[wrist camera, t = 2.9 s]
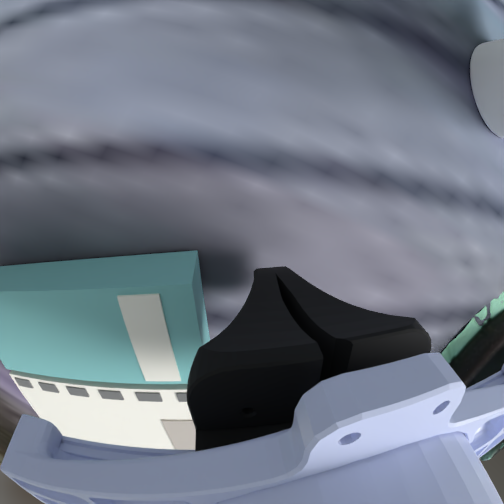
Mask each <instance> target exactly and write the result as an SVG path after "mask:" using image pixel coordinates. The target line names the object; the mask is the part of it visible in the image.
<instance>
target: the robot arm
mask: <svg viewBox="0 0 504 504" xmlns="http://www.w3.org/2000/svg"><path fill="white" fill-rule="evenodd" d="M430 350H431V339H430V336H429V334H428V333H427V332H426V331H425V329H424V328H423V327H422V326H421V325H420V324H419V322H418V321H417V320H416V319H415V318H410V317H401V316H393V315H387V314H382V313H378V312H373V311H370V310H366V309H363V308H360V307H357V306H354V305H351V304H348V303H346V302H344V301H341V300H339V299H337V298H335V297H333V296H331V295H329V294H327V293H325V292H323V291H322V290H320V289H318V288H316V287H315V286H313V285H312V284H310V283H309V282H307V281H306V280H304V279H303V278H302V277H300V276H299V275H297V274H296V273H295V272H293V271H292V270H290V269H289V268H287V267H286V266H285V267H273V268H260V269H256V270H255V271H254V282H253V285H252V288H251V291H250V294H249V296H248V298H247V300H246V302H245V304H244V306H243V307H242V309H241V310H240V312H239V313H238V315H237V316H236V317H235V319H234V320H233V321H232V322H231V323H230V325H229V326H228V327H227V328H226V329H225V330H223V331H222V332H221V333H220V334H219V335H218V336H216V337H215V338H213V339H212V340H210V341H209V342H207V343H206V344H204V345H202V346H201V347H199V348H198V351H197V353H196V355H195V358H194V360H193V363H192V366H191V370H190V373H189V377H188V383H187V395H186V396H187V405H188V408H189V411H190V414H191V417H192V420H193V423H194V426H195V429H196V440H195V450H179V449H155V448H141V447H130V446H121V445H113V444H106V443H99V442H93V441H87V440H81V439H76V438H71V437H67V436H62V434H61V432H60V431H59V429H58V428H57V427H56V426H55V425H54V424H53V423H51V422H49V421H47V420H45V419H41V418H37V417H33V416H29V415H26V414H22V416H21V418H20V420H19V423H18V425H17V427H16V429H15V432H14V434H13V436H12V439H11V441H10V444H9V446H8V448H7V451H6V454H5V456H4V459H3V462H2V464H1V467H0V469H1V471H2V472H3V473H4V474H6V475H7V476H8V477H9V478H10V479H12V480H13V481H14V482H15V483H17V484H18V485H19V486H21V487H22V488H23V489H25V490H26V491H27V492H29V493H30V494H31V495H33V496H34V497H36V498H37V499H39V500H40V501H41V502H43V503H45V504H503V502H502V500H501V498H500V496H499V495H498V493H497V491H496V489H495V487H494V485H493V483H492V481H491V480H490V478H489V476H488V474H487V472H486V470H485V469H484V467H483V465H482V463H481V462H480V460H479V458H480V457H481V456H482V455H484V454H485V453H486V452H488V451H489V450H490V449H492V448H493V447H494V446H496V445H497V444H498V443H499V442H501V441H502V440H503V439H504V364H503V366H502V369H501V370H500V371H499V372H497V373H495V374H493V375H492V376H490V377H488V378H486V379H484V380H482V381H480V382H478V383H476V384H474V385H472V386H470V387H468V388H466V386H465V385H464V383H463V382H462V380H461V379H460V378H459V377H458V375H457V374H456V373H455V371H454V370H453V369H452V368H451V366H450V365H449V364H448V362H447V361H446V360H445V359H444V357H443V356H442V355H441V354H440V352H438V353H430Z"/></svg>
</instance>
